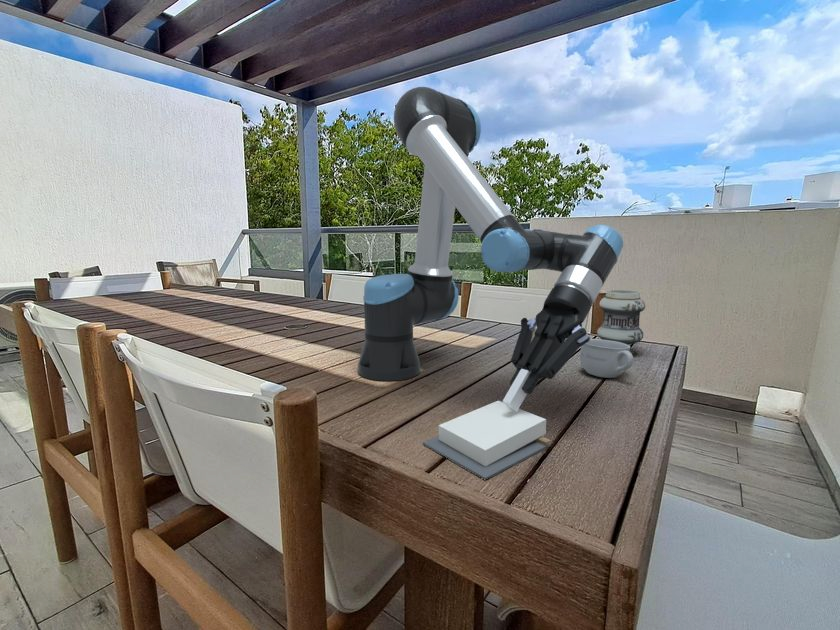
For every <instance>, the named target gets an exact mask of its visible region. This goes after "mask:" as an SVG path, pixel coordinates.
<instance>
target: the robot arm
mask: <svg viewBox="0 0 840 630" xmlns="http://www.w3.org/2000/svg"><path fill="white" fill-rule="evenodd" d="M393 125H394V128H395V131H396V134H397V137H398V139H399V140H400V142H401V143H402V145H403V146H404V147H405V149H406V150H407V151H408V153H409V154H410V155H412V156H414V157H415V156H416V157H418V158H419V159H420V161H421V163H423V165H424V168H423V169H424V170H423V180H422V181H423V182H422V190H421V199H420V208H419V218H418V228H417V238H416V246H415V248H416V249H415V256H414V262H413V264H411V265H410V266H409V267H408V268H407V273H391V274H382V275H378V276H373V277H371V278H369V279H368V280H367V281H366V282H365V284H364V292H363V293H364V294H363V307H364V308H363V310H364V313H363V314H364V343H363V347H362V350H361V353H360V356H359V360H358V363H357V369H358V370H357V371H358V372H357V373H358V375H360V376H361V377H362V378H365V379H368V380H371V381H373V380H374V381H380V382H381V381H383V382H384V381H385V382H392V381H402V380H407V379H411V378H414V377H416V376H418V375H419V374H420V373H421V361H420V358H419V354H418V352H417V349H416V346H415V342H414V326H416V325H420V324H425V323H430V322H434V323H435V322H438V321H440V320H443V319H446V318H447V317H449V316H450V315H451V314H452V313H454V311H455V309H456V308H457V305H458V302H459V289H458V287H456V285H457V284H456V283H455V281H454V279H453V275H454V273H453V272H452V270H451V269H450V267H449V260H450V252H451V251H450V250H451V243H452V237H453V236H452V235H453V227H454V218H455V212H456V209H457V211H458V212H459V214H460V215H461V216H462V218H463V220H465V221H466V224H467V225H468V226H469V227H470V228H471V230H472V231H473V233H474V234H475V235H476V237H477V238H478V239H479V241H480V242H481V246H480V253H481V259H482V261H483V263H484V264H485V266H486V267H487V268H489V269H490V270H492V271H494V272H498V273H499V272H501V273H508V274H509V273H511V274H512V273H517V272H520V271H531V270H533V271H534V270H541V269H542V270H548V271H555V272H561V273H560V275H559V277H558V278H557V279H556V281H555V283H554V285H553V287H552V288H551V290H550V292H549V294H548V295H547V297H546V298H545V300H544V302H543V306H542V310H540V311H539V312H538V313H537V314H536V316H535V317H534V318H531V319H527V317H523V318H521V320H520V326H521V328H520V331H519V334H518V337H517V340H516V343H515V346H514V349H513V352H512V355H511V358H510V362H511V363H512V365H513V366H514V367H515V369H516V370H515V372H514V373H513V376H512V377H511V379H510V381H509V386H510V388H509V389H508V391H507V392H506V394H505V396H504V398H503V399H502V402H503V403H505V405H506V406H507V407H508V408H509V409H510V410H513V411H515V412H517V411H518V409H520V407H521V405H522V404H523V402H524V400H525V399H526V397H527V395H531V394H532V393H533V391H534V390H535V388H536V386H537V385H538V383H539V381H540V380H541V379H545V378H547V379H548V380H551V379H554V377H555V376H556V375H557V374H558V373H559V372H560V370H562V368H563V367H564V365H566V364H567V362H568V361H569V360H570V359H571V358H572V356H573V355H575V353H576V352H577V351H578V350H579V349H580V348H581V346H582V345H584V344H585V343H587V342H588V341H589V340H590V339H591V337H590V336H589V334H588V331H587V330H586V328H585V327H583V323H584V321H585V320H586V318H587V316H588V314H589V312H590V311H591V309H592V306H593V305H594V303H595V301H596V299H597V297H598V295H599V293H600V292H601V290H602V289H603V287H604V284H605V283H606V281H607V279H608V277H609V276H610V274H611V272H612V270H613V269H614V267H615V265H616V264H617V263H618V259H619V256H620V254H621V253H622V250H623V248H624V240H623V237H622V235H621V234H620V233H619V232H618V230H616V229H615V228H613V227H611V226H609V225H607V224H606V225H605V224H597V225H593V226H590V227H589V228H588V229H587V230H585V232H584V233H583V234H581V235H580V234H572V233H571V234H568V233H561V232H555V231H550V230H549V231H548V230H543V229H537V228H535V229H534V228H533V229H531V228H530V229H529V228H526V229H525V228H524V227H523V226H522V224H520V222H519V221H518V220H517V219H516V218H515V216H514V215H513V213H512V212H511V211H510V209H509V208H508V207H507V205H505V203H504V202H503V200H501V198H500V197H499V196H498V194H497V193H496V192H495V190H494V189H493V188H492V187H491V185H490V184H489V182H487V180H486V179H485V178H484V176H483V175H482V174H481V173H480V172H479V170H478V169H477V167H476V166H475V165H474V163H473V162H472V161H471V160H470V159H469V154H470V153H471V152H473V151H474V149H475V147H477V145H478V143H479V141H480V139H481V133H482V126H481V120H480V117H479V114H478V112H477V111H476V109H475V108H474V107H473V106H471V105H470V104H468V103H467V102H465V101H464V100H463V99H461V98H455V97H453V96H451V95H447V94H446V93H444V92H440V91H437V90H436V89H434V88H431V87H430V86H429V87H428V86H417V87H413V88H411V89H409V90H408V91H407V90H406V91H405V92H404V94H402V96H401V97H399V99H398V101H397V103H396V105H395V109H394V111H393ZM536 325H537V329H536V331H535V327H536ZM534 331H535V333H534V334H535V336H534V338H533V339H532V335H533V332H534ZM531 339H532V341H531Z"/></svg>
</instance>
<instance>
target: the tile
mask: <svg viewBox="0 0 840 630" xmlns="http://www.w3.org/2000/svg"><path fill="white" fill-rule="evenodd" d="M437 429H438V436H439V440H440V441H442V442H443V443H445V444H447V445H449V446H450V447H452V448H454V449H456V450H457V451H459V452H461V453H463V454H464V455H466V456H468V457H470V458H471V459H473V460H475V461H477V462H478V463H480V464H482V465H484V466H487V465H489V464H491V463H493V462H495V461H497V460H498V459H500V458H502V457H504V456H506V455H508V454H509V453H511V452H513V451H515V450H517V449H519V448H521V447H522V446H524V445H526V444H528V443H530V442H532V441H534V440H535V439H537V438H539V437H541V436H542V437H544V436H545V435H546V434H547V419H546V418H544V417H541V416H539V415H536V414H533V413H531V412H528V411H525V410H523V409H521V408H519V409H518V411H517V412H515V411H513V410H510V409H509V408H508V407H507V406H506V405H505V403H504V402H503V401H502V400H497V401H493V402H492V403H488V404H487V405H484V406H481V407H479V408H477V409H475V410H472V411H469V412H468V413H465V414H462V415H459V416H457V417H456V418H455V417H454V418H453V419H450V420H448V421H445V422H444V423H441V424H438V428H437Z"/></svg>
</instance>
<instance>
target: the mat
mask: <svg viewBox="0 0 840 630" xmlns="http://www.w3.org/2000/svg"><path fill="white" fill-rule="evenodd" d="M422 445H423V446H424V445H425V446H424V447H426V448H428V447H429V448H428V449H430V448H431V449H432V451H433V450H434V451H433V452H435V451H436V452H438V453H440V454H442V455H443V456H445V457H446V459H447V458H448V459H450V460H451V461H450V460H449V461H450V462H452V461H453V462H452V463H454V462H455V463H456V464H455V463H454V464H455V465H457V464H458V465H457V466H459V465H460V466H459V467H461V466H462V467H464V468H466V469H467V470H469V471H471V472H473V473H474V474H476V475H477V476H476V475H475V476H476V477H478V476H480V477H481V478H483V479H485V480H486V479H488V478H490V479H491V477H492V478H494V477H495V476H497V475H499V474H501V473H503V472H504V471H506V470H508V469H510V468H512V467H515V466H516V465H518V464H520V463H521V462H524V461H525V460H527V459H529V458H531V457H533V456H535V455H537V454H539V453H541V452H542V451H544V450H546V449H548V448H547V447H546V446H544V445H542V444H540V443H538V442H535V441H532V442H530V443H528V444H526V445H524V446H522V447H521V448H519V449H517V450H515V451H513V452H511V453H509V454H508V455H506V456H504V457H502V458H500V459H498V460H497V461H495V462H493V463H491V464H489V465H487V466H484V465H482V464H480V463H478V462H477V461H475V460H473V459H471V458H470V457H468V456H466V455H464V454H463V453H461V452H459V451H457V450H456V449H454V448H452V447H450V446H449V445H447V444H445V443H443V442H442V441H440V440H439V435H438V436H435V437H433V438H430V439H427V440H425V441H423V442H422ZM547 446H548V445H547ZM549 446H550V447H551V444H550V445H549ZM431 449H430V450H431ZM436 452H435V453H436ZM438 453H437V454H438ZM440 454H439V455H440ZM442 455H441V456H442ZM443 456H442V457H443ZM445 457H444V458H445ZM448 459H447V460H448ZM462 467H461V468H462ZM464 468H463V469H464ZM466 469H465V470H466ZM467 470H466V471H467ZM469 471H468V472H469ZM471 472H470V473H471ZM473 473H472V474H473ZM474 474H473V475H474ZM480 477H479V478H480ZM481 478H480V479H481ZM483 479H482V480H483ZM485 480H484V481H485ZM488 480H489V479H488ZM486 481H487V480H486Z"/></svg>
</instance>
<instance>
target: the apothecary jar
mask: <svg viewBox="0 0 840 630" xmlns="http://www.w3.org/2000/svg"><path fill="white" fill-rule="evenodd" d="M640 294H641V293H640V291H639V290H631V289H630V290H629V289H610V290H609V289H608V290H606V293H605V296H603V298H601V300H600V301H599V308H600V309H602V310H603V315H602V324H601V326H599V328H597V330H596V334H597V335H598V338H599V339H601V340H610V341H616V342H621V343H624V344H627V345H629V346H630V345H635V344H637V343H638V342H640V341H642V339H644V332H643V329H642V328H640V317H641V312H643V311H644V310H645V309H646V303H645V301H644V300H642V299H641V296H640ZM629 352H630V353H631V354H632V356H633V357H636V356H637V355H638V352H637V351H636V350H634V349H633V348H631V347H630V350H629Z"/></svg>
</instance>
